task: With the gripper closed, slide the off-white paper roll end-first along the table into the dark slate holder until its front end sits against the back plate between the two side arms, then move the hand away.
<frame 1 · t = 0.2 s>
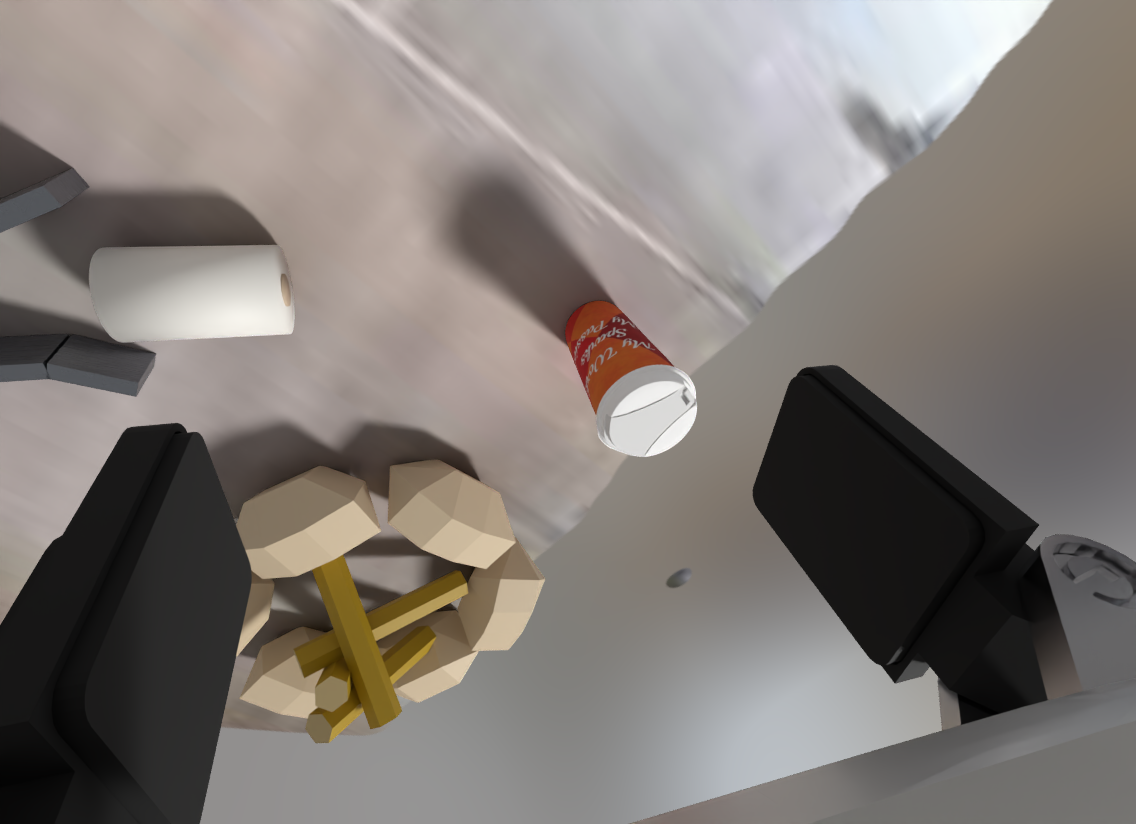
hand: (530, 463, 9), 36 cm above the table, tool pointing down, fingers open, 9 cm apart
roll: (212, 274, 40), on the table
campfire: (374, 567, 62), on the table
paper cup: (593, 328, 51), on the table
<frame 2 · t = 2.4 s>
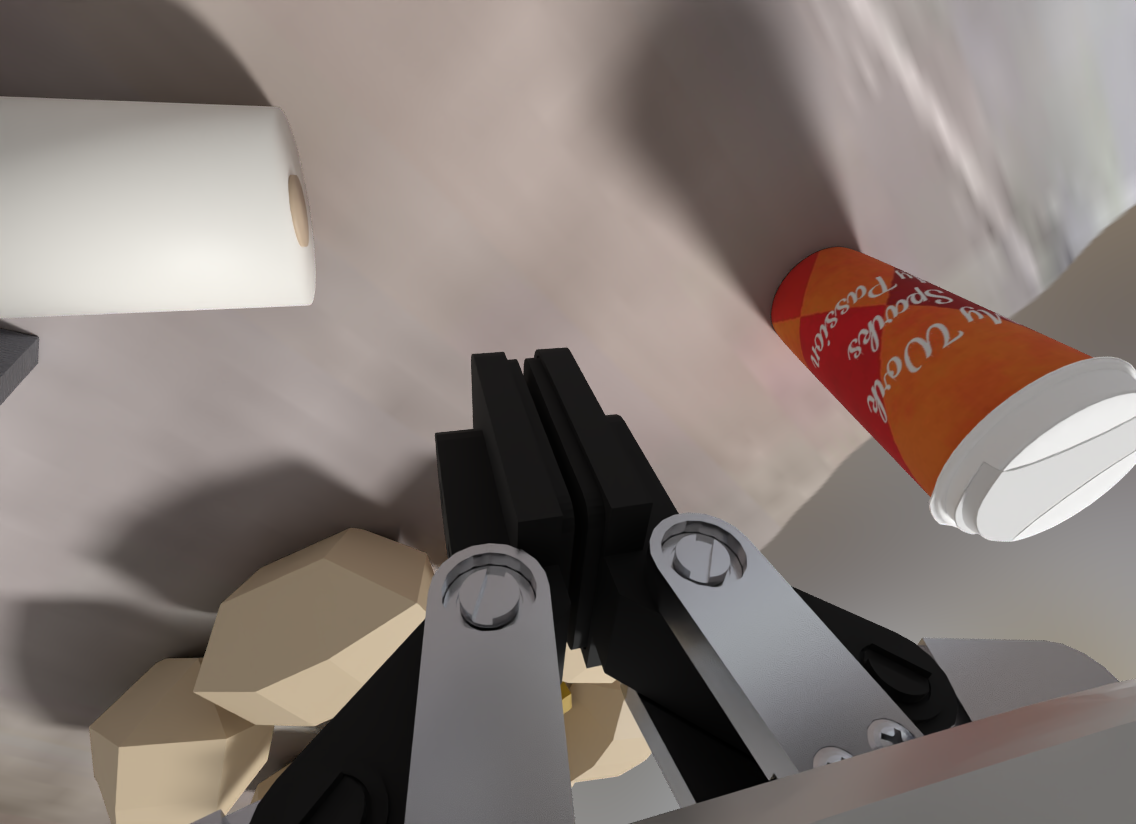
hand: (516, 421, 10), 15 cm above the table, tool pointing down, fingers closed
roll: (143, 170, 19), on the table, tilted 9°
campfire: (426, 663, 41), on the table
paper cup: (815, 296, 30), on the table
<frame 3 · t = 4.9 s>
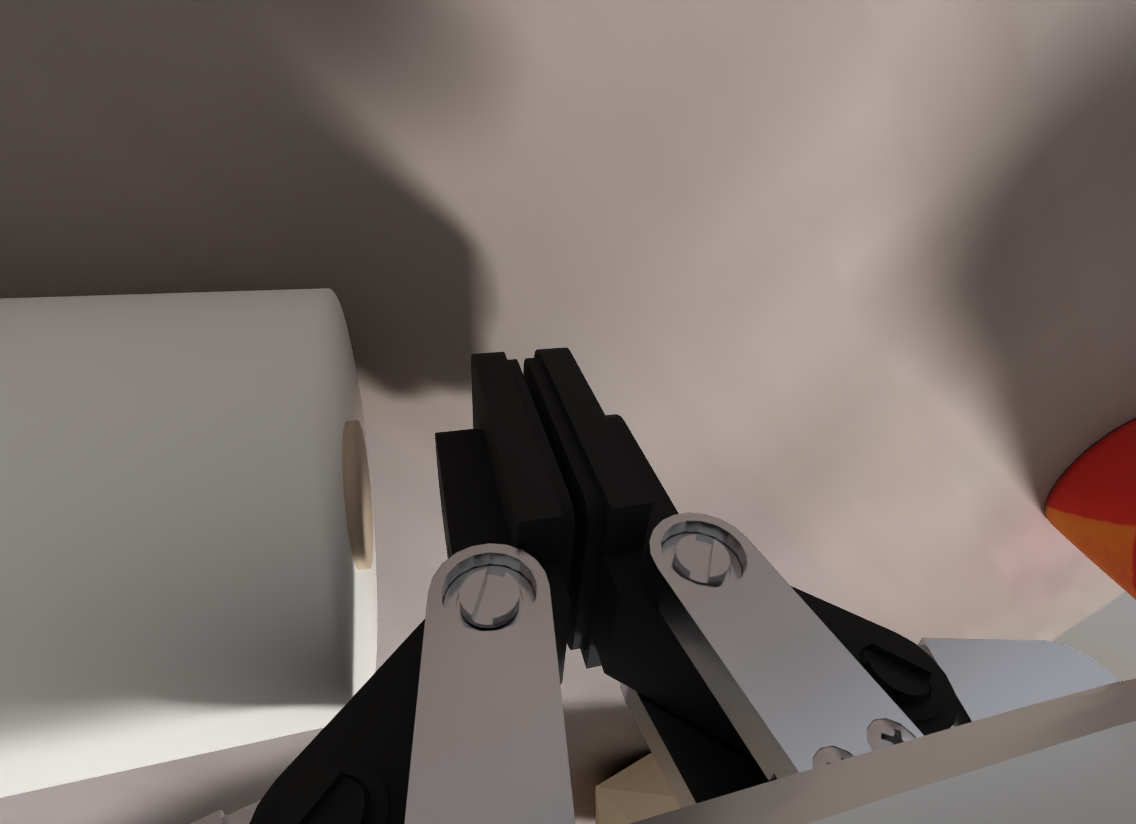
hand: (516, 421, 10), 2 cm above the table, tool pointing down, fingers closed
roll: (42, 409, 9), on the table, touching gripper
paper cup: (1107, 468, 21), on the table
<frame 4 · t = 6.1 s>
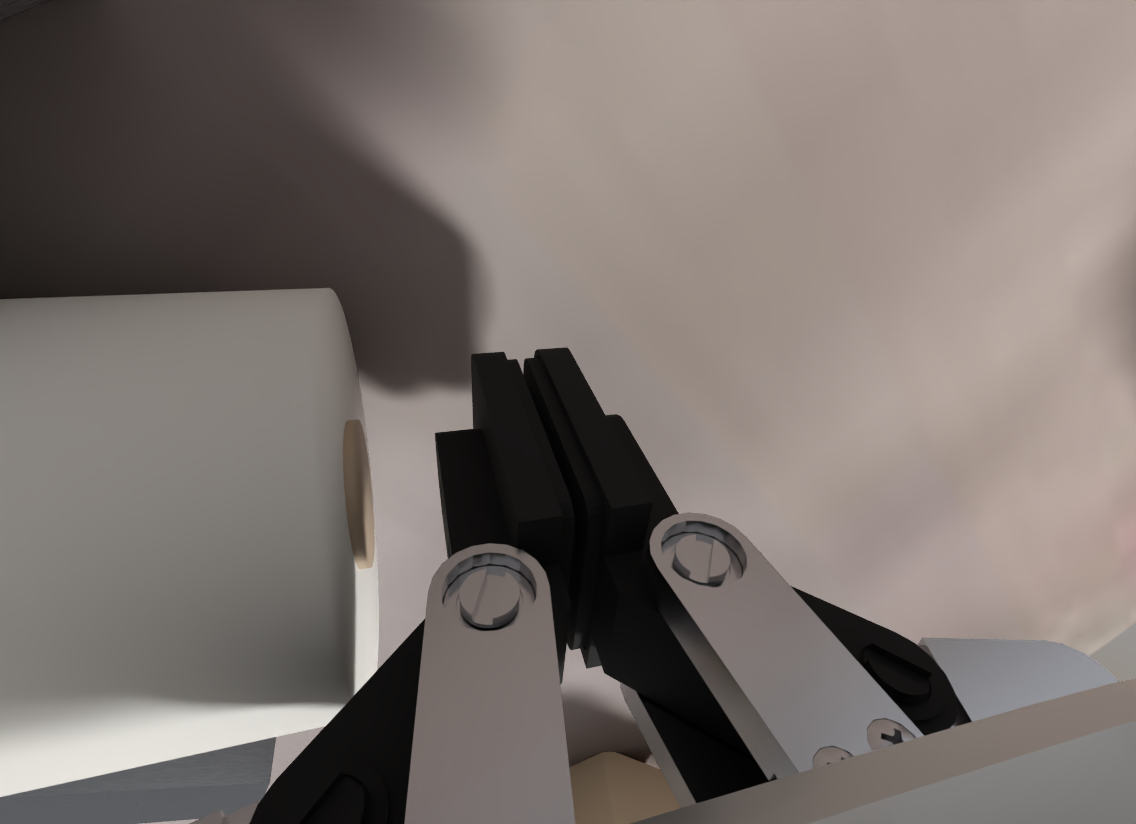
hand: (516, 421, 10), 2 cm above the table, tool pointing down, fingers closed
roll: (44, 409, 9), on the table, touching gripper
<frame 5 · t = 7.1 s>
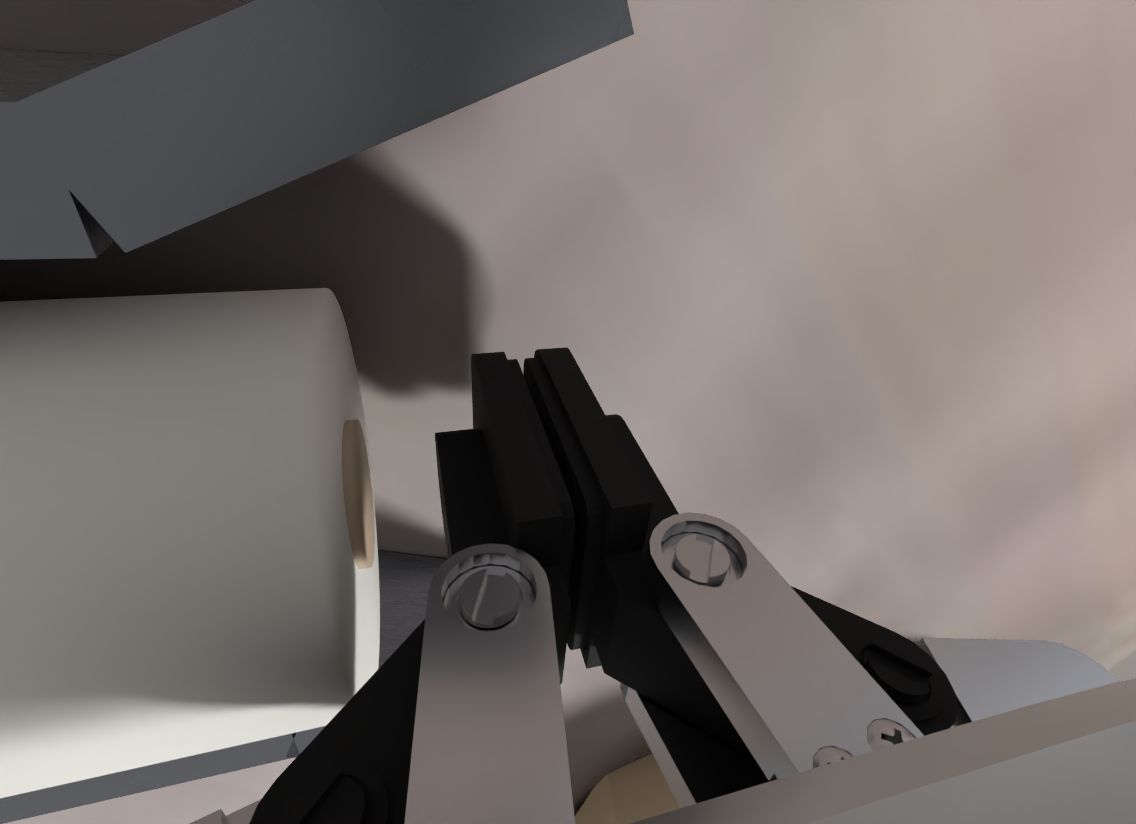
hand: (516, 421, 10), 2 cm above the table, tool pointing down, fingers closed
roll: (45, 411, 10), on the table, touching gripper
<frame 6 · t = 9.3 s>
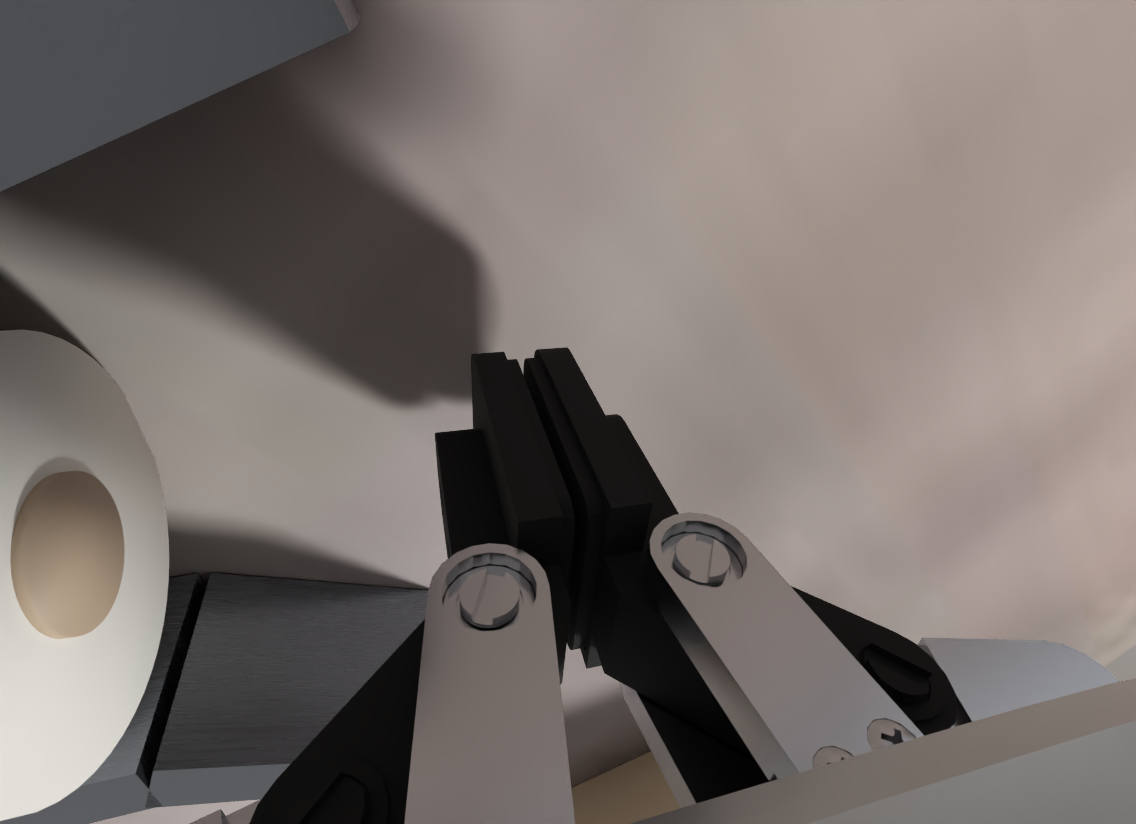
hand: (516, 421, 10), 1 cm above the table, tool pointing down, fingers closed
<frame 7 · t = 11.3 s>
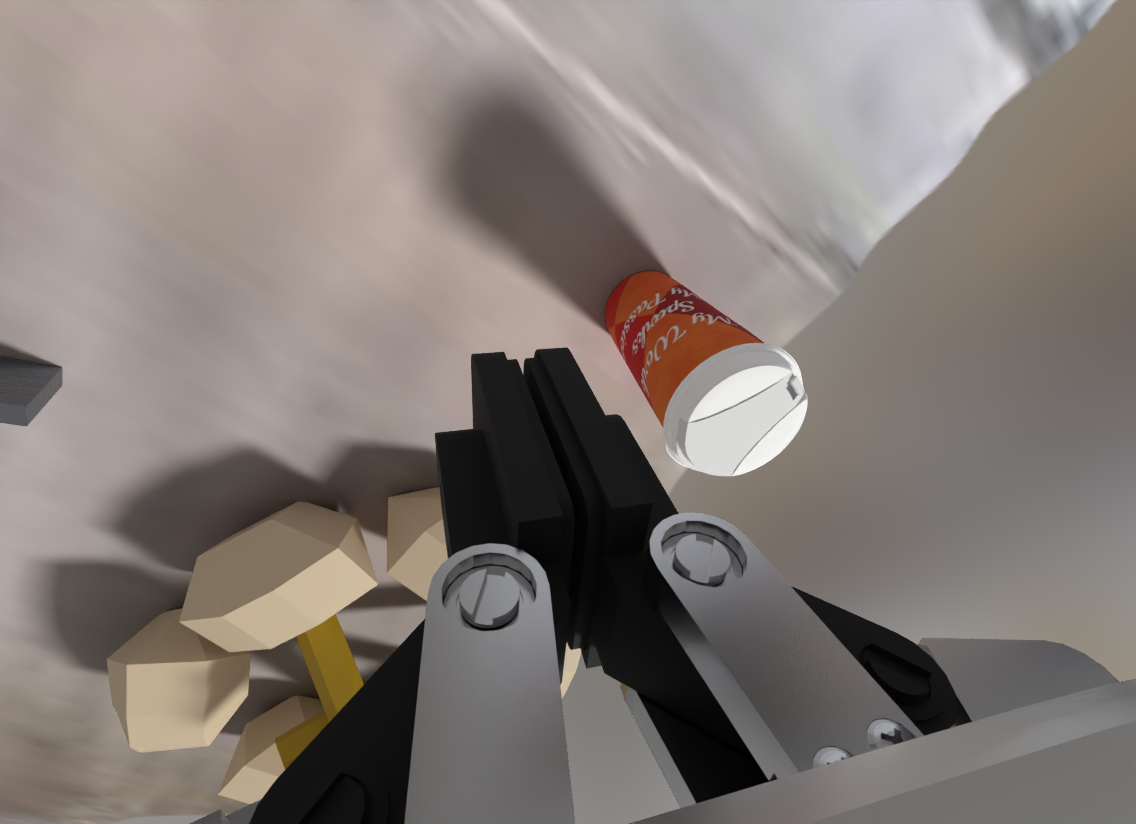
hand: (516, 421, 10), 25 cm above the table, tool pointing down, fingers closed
campfire: (379, 620, 50), on the table
paper cup: (641, 308, 39), on the table
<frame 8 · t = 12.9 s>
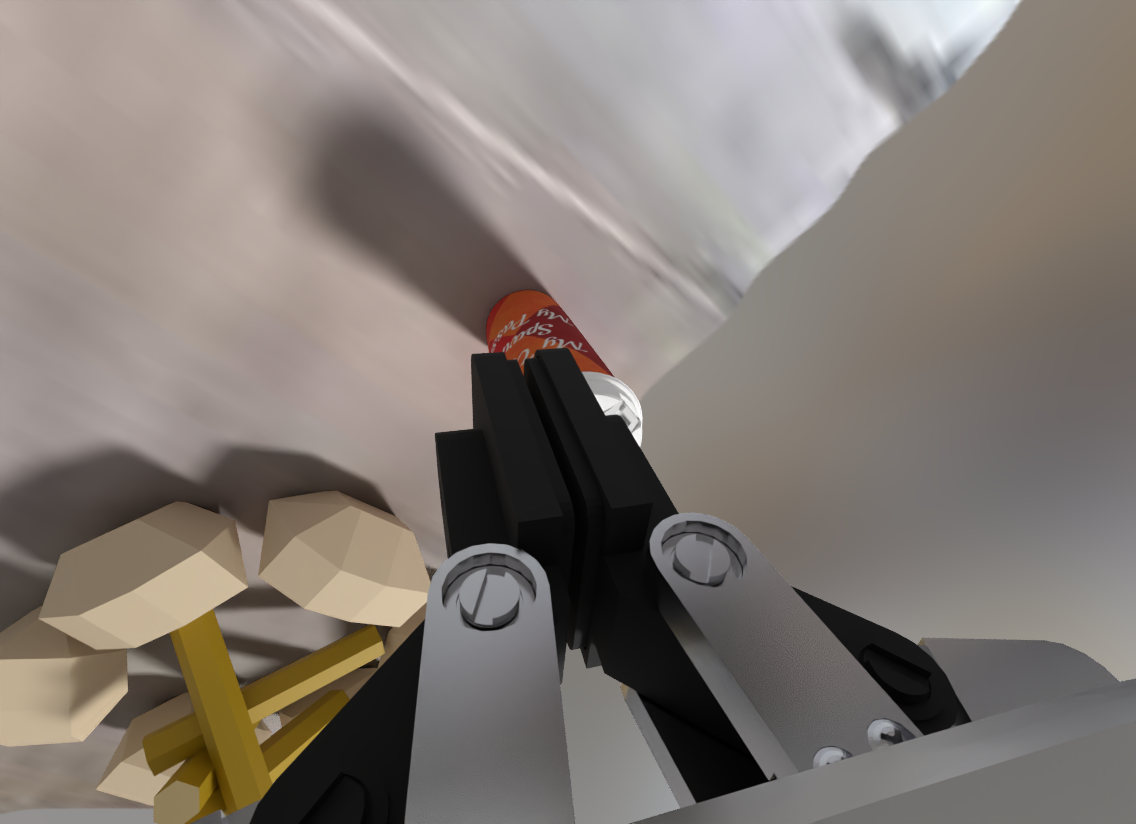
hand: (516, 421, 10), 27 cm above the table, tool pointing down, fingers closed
campfire: (272, 619, 50), on the table
paper cup: (523, 325, 40), on the table
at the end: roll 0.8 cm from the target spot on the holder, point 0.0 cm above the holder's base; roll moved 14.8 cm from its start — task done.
